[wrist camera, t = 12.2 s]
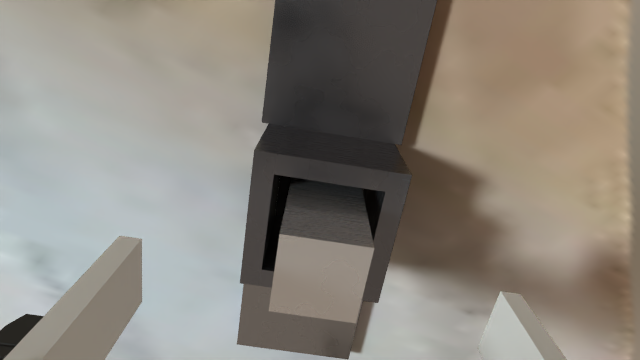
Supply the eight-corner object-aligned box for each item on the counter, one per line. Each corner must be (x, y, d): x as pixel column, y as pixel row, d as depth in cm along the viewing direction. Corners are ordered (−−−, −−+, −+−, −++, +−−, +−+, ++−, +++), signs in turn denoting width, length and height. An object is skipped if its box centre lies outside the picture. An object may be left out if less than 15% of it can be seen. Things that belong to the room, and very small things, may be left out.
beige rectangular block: (297, 152, 24) (279, 234, 15) (355, 161, 24) (374, 248, 15) (289, 205, 26) (268, 311, 16) (345, 214, 26) (355, 323, 17)
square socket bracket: (284, -57, 20) (268, -86, 15) (439, -28, 21) (481, -46, 15) (239, 334, 29) (219, 407, 24) (347, 348, 30) (352, 424, 24)
